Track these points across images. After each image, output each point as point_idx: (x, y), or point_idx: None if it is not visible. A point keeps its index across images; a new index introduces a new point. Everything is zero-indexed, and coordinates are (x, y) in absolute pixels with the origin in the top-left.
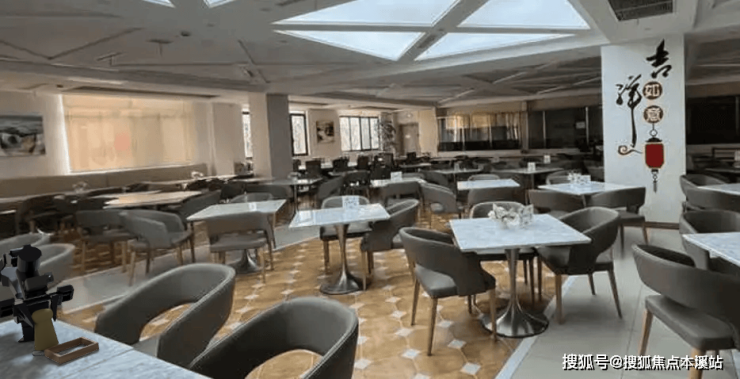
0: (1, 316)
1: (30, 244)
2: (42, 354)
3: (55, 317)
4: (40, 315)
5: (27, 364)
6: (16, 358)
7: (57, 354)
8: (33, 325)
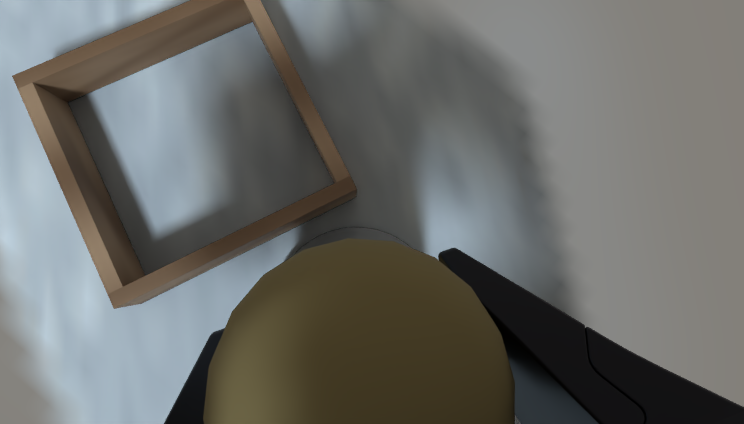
0: None
1: None
2: (374, 229)
3: (208, 354)
4: (367, 247)
5: (435, 127)
6: (520, 284)
7: (262, 28)
8: (449, 249)
